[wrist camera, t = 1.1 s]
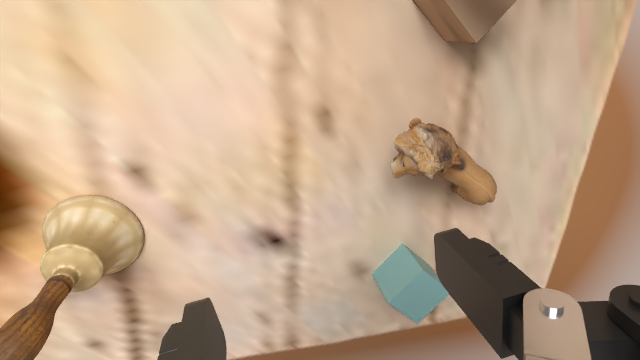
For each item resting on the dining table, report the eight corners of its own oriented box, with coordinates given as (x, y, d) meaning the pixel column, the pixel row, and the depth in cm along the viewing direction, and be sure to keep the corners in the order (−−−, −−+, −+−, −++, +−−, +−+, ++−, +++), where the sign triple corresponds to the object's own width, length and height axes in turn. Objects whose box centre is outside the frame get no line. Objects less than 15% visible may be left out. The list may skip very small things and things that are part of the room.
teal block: (402, 243, 42) (422, 269, 37) (428, 264, 44) (451, 292, 39) (371, 273, 42) (387, 303, 38) (399, 293, 44) (417, 323, 40)
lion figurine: (358, 148, 36) (394, 183, 28) (385, 99, 35) (431, 120, 27) (468, 199, 41) (526, 241, 33) (496, 157, 40) (562, 190, 32)
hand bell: (31, 258, 34) (-124, 432, 19) (59, 180, 32) (-91, 309, 17) (126, 283, 36) (55, 451, 22) (157, 213, 34) (100, 348, 20)
